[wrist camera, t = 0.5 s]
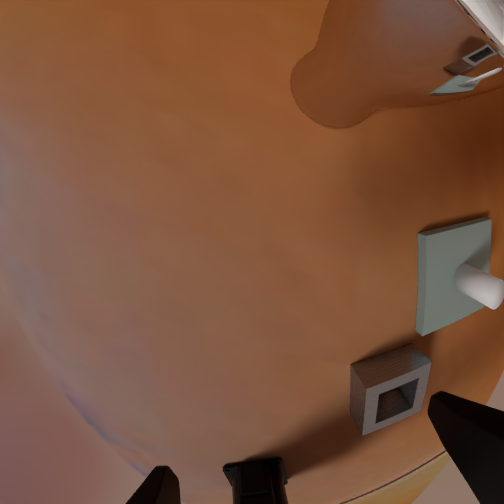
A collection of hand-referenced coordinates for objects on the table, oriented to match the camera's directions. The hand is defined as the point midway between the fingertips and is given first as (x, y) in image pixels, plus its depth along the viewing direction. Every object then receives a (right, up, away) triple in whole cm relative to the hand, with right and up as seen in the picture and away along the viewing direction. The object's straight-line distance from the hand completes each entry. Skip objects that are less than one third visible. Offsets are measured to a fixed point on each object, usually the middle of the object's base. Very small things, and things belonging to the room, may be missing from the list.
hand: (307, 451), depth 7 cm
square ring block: (+10, -6, +16) cm, 20 cm away
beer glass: (+4, +18, +10) cm, 21 cm away
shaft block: (+17, +4, +14) cm, 22 cm away
